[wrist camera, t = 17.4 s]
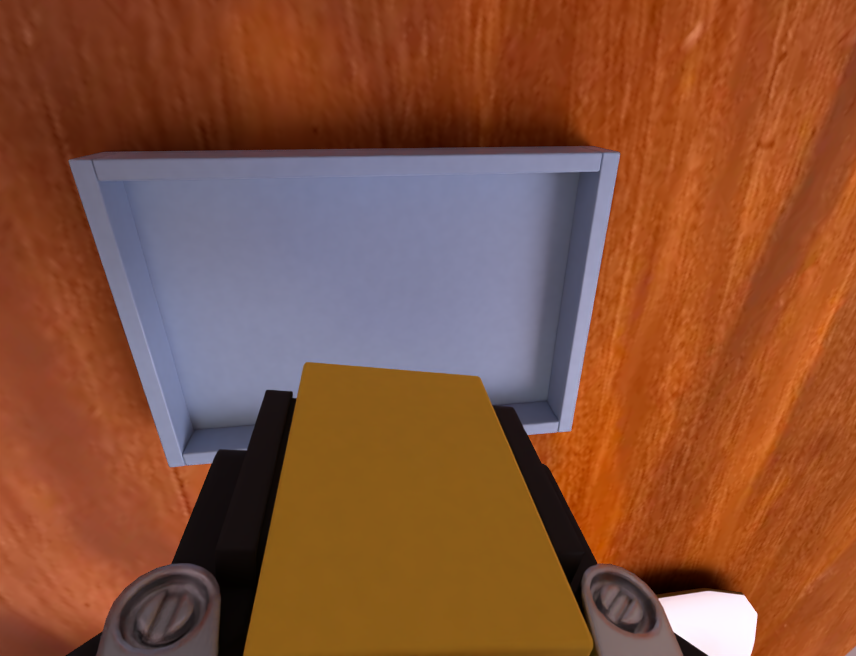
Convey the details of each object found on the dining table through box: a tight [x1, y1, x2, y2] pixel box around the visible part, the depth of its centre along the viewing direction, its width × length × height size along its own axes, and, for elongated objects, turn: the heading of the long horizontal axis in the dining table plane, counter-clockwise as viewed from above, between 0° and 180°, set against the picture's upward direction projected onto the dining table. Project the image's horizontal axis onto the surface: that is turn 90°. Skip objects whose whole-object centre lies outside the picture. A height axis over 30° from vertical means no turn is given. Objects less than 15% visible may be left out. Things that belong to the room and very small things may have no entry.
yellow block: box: [243, 362, 593, 656], centre depth 9 cm, size 4×4×6 cm
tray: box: [69, 146, 620, 467], centre depth 17 cm, size 16×11×2 cm
